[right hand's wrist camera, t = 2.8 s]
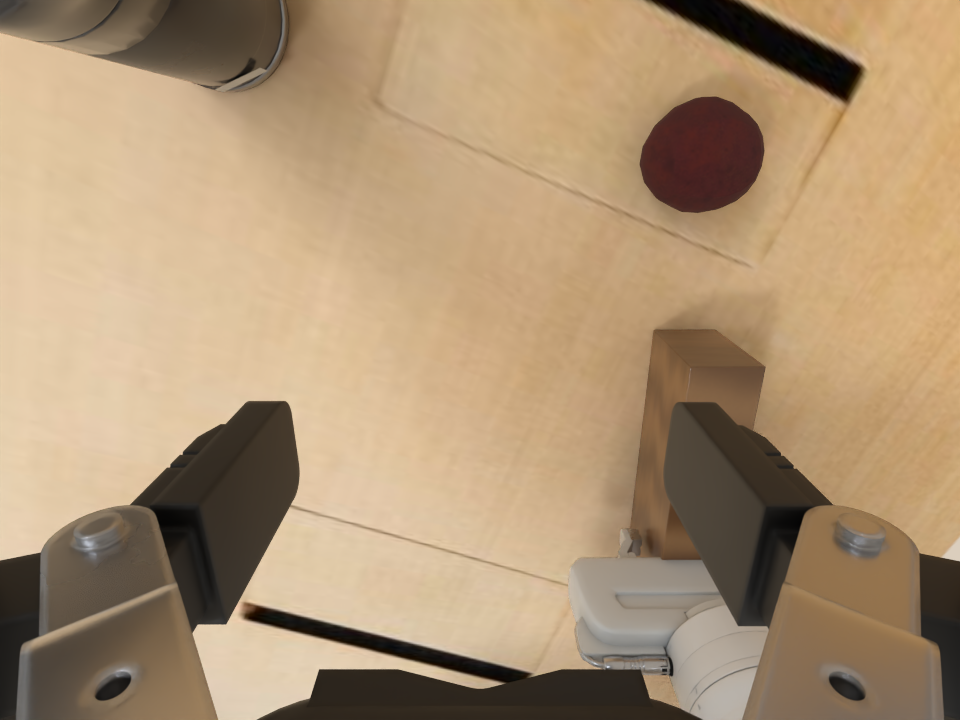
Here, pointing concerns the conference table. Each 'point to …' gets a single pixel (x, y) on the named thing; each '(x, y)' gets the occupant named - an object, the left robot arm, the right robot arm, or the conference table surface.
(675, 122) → the maroon round ball
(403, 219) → the conference table surface
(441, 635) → the conference table surface
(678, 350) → the bar
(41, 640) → the right robot arm
